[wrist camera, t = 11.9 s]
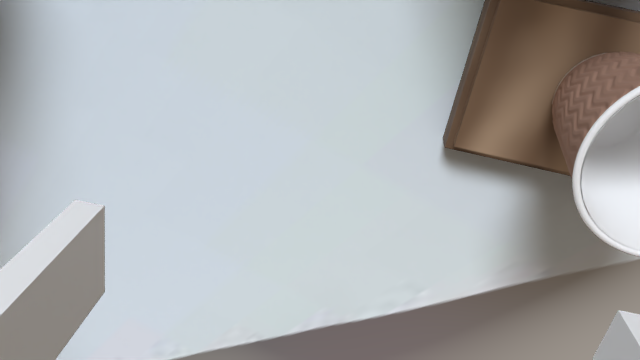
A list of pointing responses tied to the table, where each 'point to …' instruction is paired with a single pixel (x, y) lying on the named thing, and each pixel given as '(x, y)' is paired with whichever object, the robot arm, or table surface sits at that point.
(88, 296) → the robot arm
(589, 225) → the coffee cup
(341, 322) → the table surface
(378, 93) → the table surface
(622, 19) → the stand
